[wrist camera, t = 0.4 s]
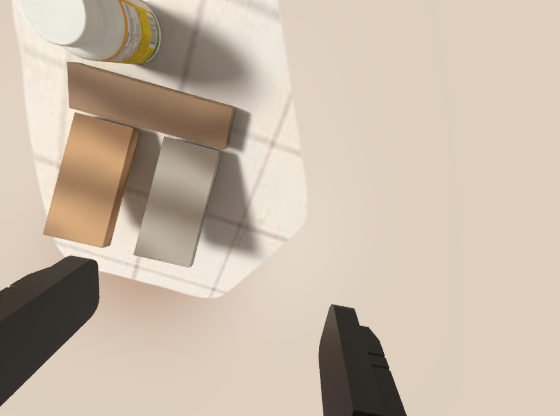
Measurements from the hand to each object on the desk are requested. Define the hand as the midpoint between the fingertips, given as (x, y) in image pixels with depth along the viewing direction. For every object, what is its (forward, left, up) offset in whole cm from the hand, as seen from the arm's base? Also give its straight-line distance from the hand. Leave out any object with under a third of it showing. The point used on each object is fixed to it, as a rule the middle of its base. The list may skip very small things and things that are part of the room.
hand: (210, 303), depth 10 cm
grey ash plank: (+7, -7, -19) cm, 22 cm away
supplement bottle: (-7, -14, -22) cm, 27 cm away
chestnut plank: (+7, -15, -19) cm, 26 cm away
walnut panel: (-1, -11, -22) cm, 25 cm away
